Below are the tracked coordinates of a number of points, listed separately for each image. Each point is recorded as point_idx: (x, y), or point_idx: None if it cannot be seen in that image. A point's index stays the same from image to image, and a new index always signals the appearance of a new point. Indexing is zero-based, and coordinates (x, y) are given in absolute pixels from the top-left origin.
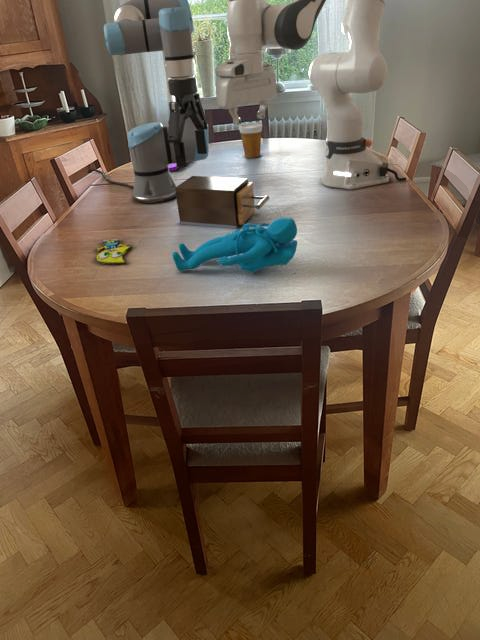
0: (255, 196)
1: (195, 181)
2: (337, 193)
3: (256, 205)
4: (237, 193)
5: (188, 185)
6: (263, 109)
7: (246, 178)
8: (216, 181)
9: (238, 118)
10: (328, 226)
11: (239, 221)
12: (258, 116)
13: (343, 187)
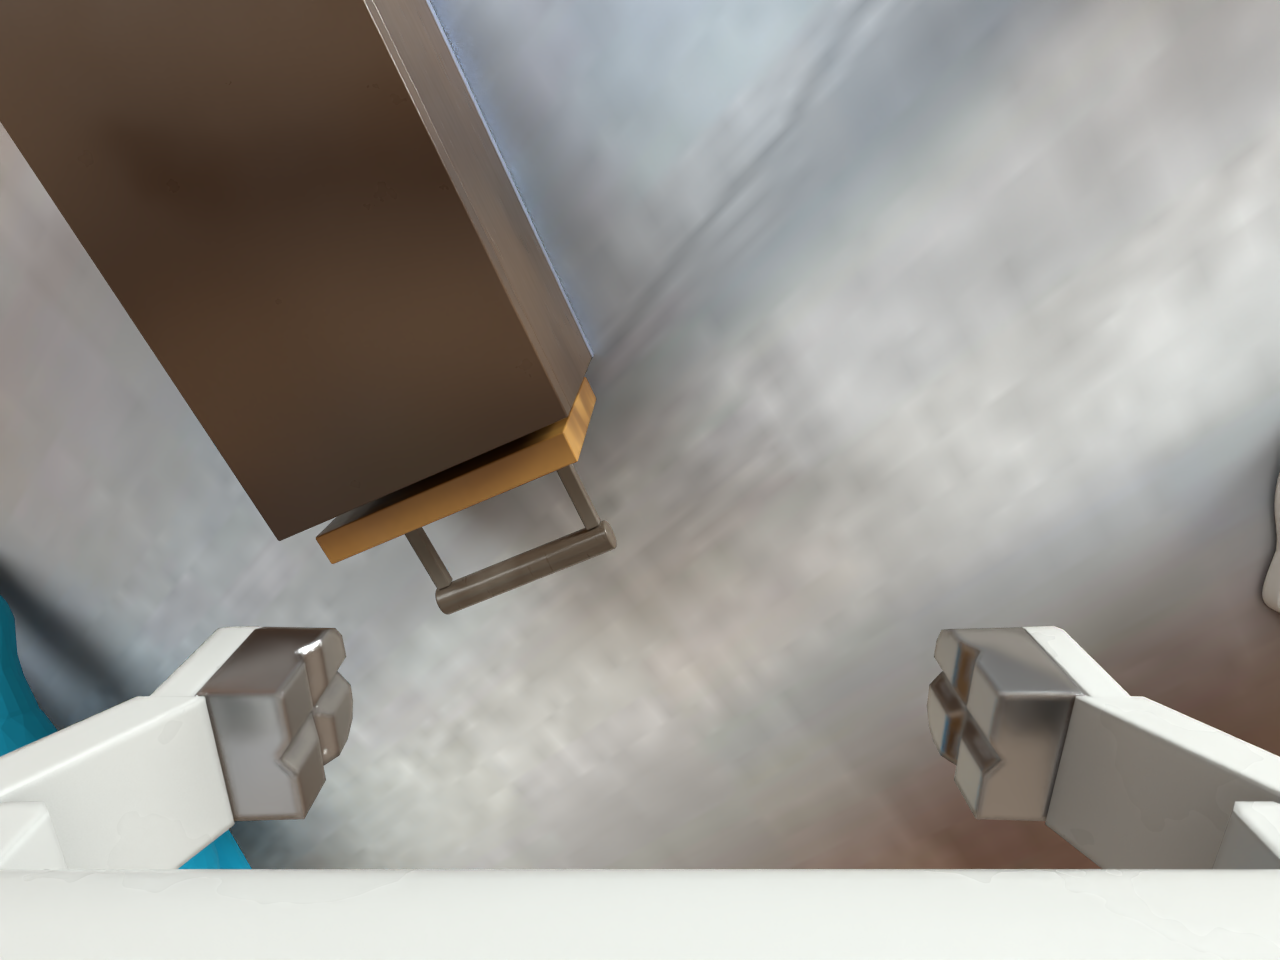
0: (565, 468)
1: (177, 24)
2: (1171, 568)
3: (436, 598)
4: (323, 542)
5: (59, 73)
6: (1103, 847)
7: (553, 414)
8: (325, 233)
9: (226, 813)
10: (698, 783)
11: None
12: (953, 679)
13: (1277, 556)
